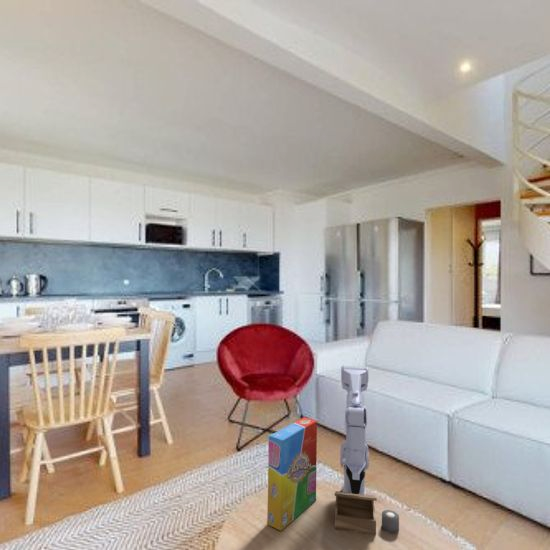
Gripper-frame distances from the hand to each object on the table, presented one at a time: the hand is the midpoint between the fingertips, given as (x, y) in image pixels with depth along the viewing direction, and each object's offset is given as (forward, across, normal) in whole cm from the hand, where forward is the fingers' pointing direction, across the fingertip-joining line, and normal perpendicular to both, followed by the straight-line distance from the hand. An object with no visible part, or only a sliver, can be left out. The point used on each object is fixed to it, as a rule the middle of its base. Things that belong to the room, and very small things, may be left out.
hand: (355, 491), depth 114 cm
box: (+10, -3, 0) cm, 11 cm away
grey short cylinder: (+10, -1, +10) cm, 15 cm away
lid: (+4, -3, 0) cm, 5 cm away
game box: (+11, -3, -20) cm, 23 cm away
